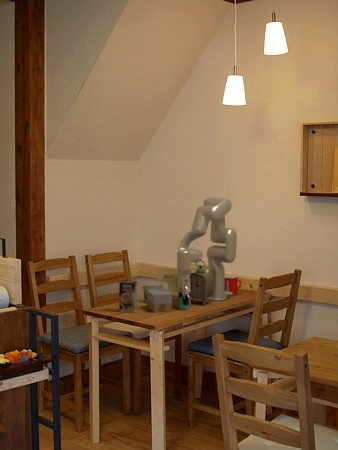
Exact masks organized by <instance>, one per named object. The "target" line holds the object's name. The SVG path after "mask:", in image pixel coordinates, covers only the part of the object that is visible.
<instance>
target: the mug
mask: <svg viewBox="0 0 338 450" xmlns="http://www.w3.org/2000/svg"><path fill="white" fill-rule="evenodd" d="M238 282H239V283H238ZM238 284H239V286H238ZM241 287H242V280H241V279H239V278H238V276H237V275H225V291H226V292H232V293H233V294H232V295H231V296H235V295H237V294H238V290H239V289H240V288H241ZM234 294H235V295H234Z"/></svg>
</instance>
